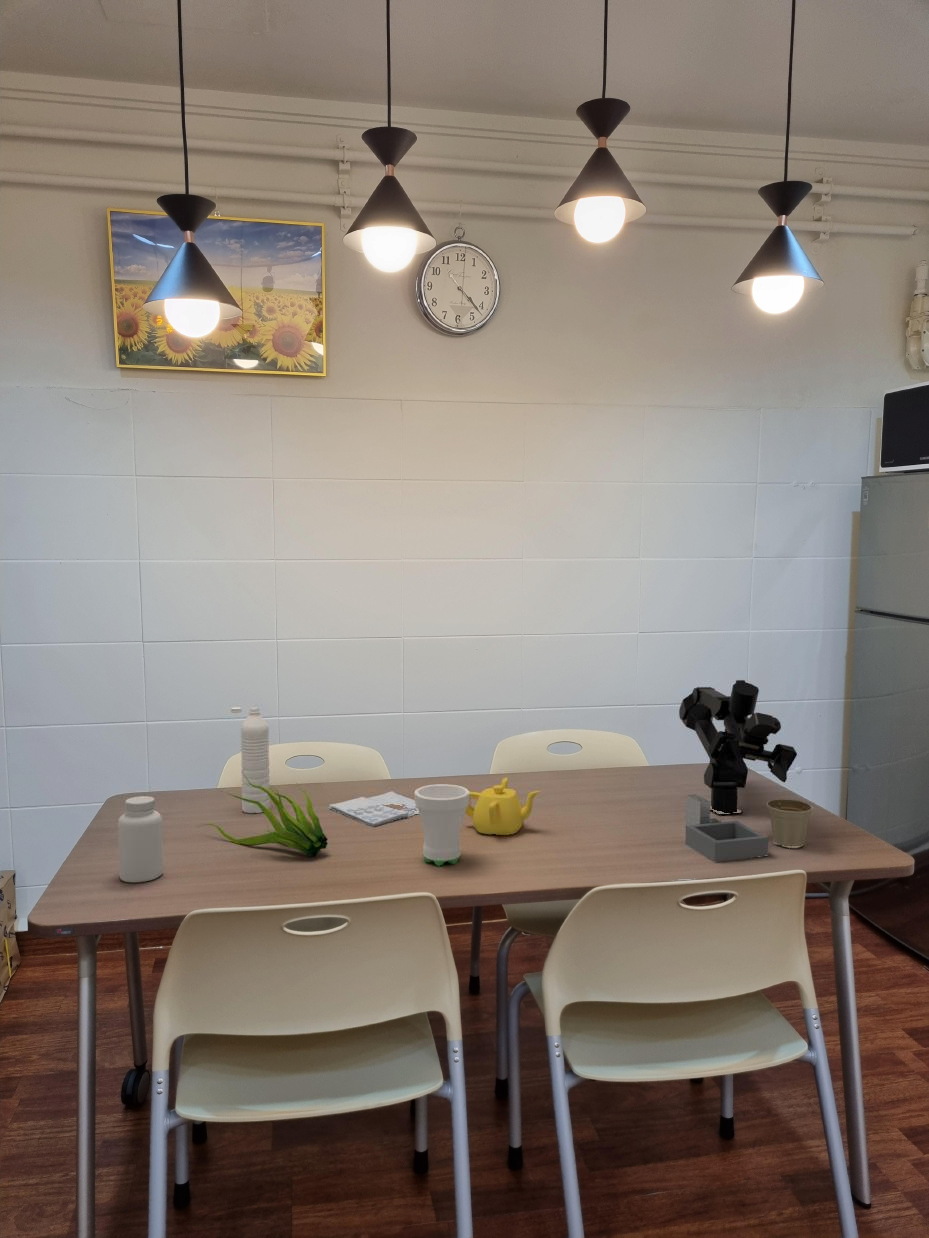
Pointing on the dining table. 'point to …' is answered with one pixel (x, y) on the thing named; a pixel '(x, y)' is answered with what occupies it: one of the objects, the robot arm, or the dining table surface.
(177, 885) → the dining table surface
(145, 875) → the pill bottle
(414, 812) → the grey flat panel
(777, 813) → the flower pot
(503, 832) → the teapot
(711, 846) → the bin
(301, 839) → the decorative plant
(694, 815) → the bracket
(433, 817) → the cup
